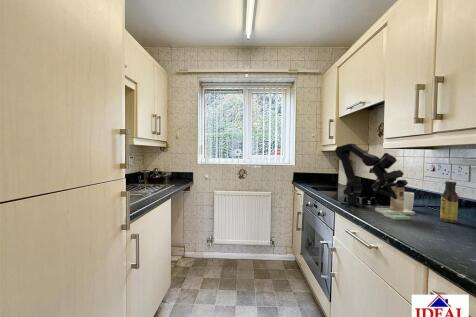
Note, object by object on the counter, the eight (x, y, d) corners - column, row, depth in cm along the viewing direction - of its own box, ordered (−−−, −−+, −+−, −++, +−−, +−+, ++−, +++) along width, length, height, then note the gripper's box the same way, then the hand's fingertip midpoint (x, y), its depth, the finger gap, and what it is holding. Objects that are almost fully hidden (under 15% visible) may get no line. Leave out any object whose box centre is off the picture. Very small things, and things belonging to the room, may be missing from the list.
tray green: (383, 215, 125) (383, 212, 125) (398, 215, 125) (398, 212, 125) (394, 219, 117) (394, 216, 117) (410, 220, 117) (410, 217, 117)
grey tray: (390, 210, 135) (390, 208, 135) (403, 211, 136) (403, 208, 136) (400, 214, 127) (400, 211, 127) (415, 214, 128) (415, 212, 128)
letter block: (390, 210, 122) (391, 186, 122) (396, 209, 123) (397, 186, 123) (397, 212, 118) (398, 187, 118) (403, 211, 119) (404, 187, 119)
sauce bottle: (439, 218, 121) (441, 180, 120) (456, 221, 117) (458, 181, 116) (440, 221, 116) (442, 181, 115) (457, 224, 112) (459, 182, 111)
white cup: (406, 211, 135) (407, 193, 135) (393, 208, 143) (394, 191, 143) (416, 210, 137) (417, 193, 137) (404, 207, 145) (404, 191, 145)
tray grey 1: (375, 210, 135) (375, 208, 135) (388, 210, 135) (388, 208, 135) (384, 214, 127) (384, 211, 127) (399, 214, 127) (399, 211, 127)
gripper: (377, 164, 121) (396, 189, 111) (405, 164, 127) (425, 188, 116) (364, 178, 129) (381, 202, 119) (391, 177, 134) (409, 201, 124)
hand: (399, 198), depth 119 cm, fingers closed on letter block, 4 cm apart
